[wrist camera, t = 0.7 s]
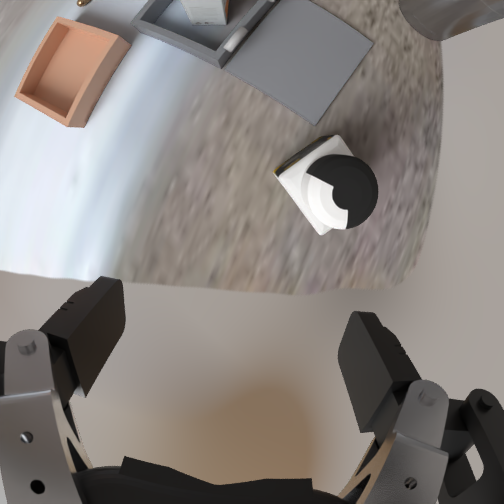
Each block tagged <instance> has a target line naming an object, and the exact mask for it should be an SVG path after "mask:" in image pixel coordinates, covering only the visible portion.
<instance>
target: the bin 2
mask: <svg viewBox="0 0 504 504" xmlns="http://www.w3.org/2000/svg"><path fill="white" fill-rule="evenodd" d="M276 1H277V0H258V1H257V2H256V3H255V5H254V6H253V7H252V8H251V9H250V10H249V11H248V12H247V14H246V15H245V16H244V17H243V18H242V19H241V21H240V22H239V23H238V24H237V25H236V27H235V28H234V29H233V30H232V31H231V33H230V34H229V35H228V36H227V38H226V39H225V40H224V41H223V43H222V44H221V45H220V47H219V48H218V49H217V50H216V51H214V50H212V49H210V48H208V47H205V46H203V45H201V44H199V43H197V42H195V41H192V40H190V39H188V38H186V37H183V36H181V35H179V34H176V33H174V32H171V31H169V30H167V29H164V28H161V27H159V26H156V25H154V23H155V21H156V20H157V19H158V17H159V16H160V15H161V14H162V12H163V11H164V10H165V9H166V8H167V6H168V5H169V4H170V3H171V2H172V0H149V1H148V2H147V3H146V4H145V5H144V7H143V8H142V9H141V10H140V12H139V13H138V14H137V15H136V17H135V18H134V19H133V21H132V22H131V24H132V25H133V26H134V27H135V28H136V29H137V30H139V31H140V32H141V33H143V34H146V35H148V36H151V37H153V38H156V39H158V40H161V41H163V42H165V43H168V44H170V45H172V46H175V47H177V48H179V49H181V50H184V51H186V52H188V53H190V54H192V55H194V56H196V57H198V58H200V59H202V60H204V61H206V62H208V63H210V64H212V65H214V66H216V67H218V68H220V69H222V67H223V66H224V64H225V63H226V62H227V60H228V59H229V58H230V56H231V55H232V54H233V52H234V51H235V50H236V49H237V47H238V46H239V45H240V43H241V42H242V41H243V40H244V38H245V37H246V36H247V35H248V34H249V32H250V31H251V30H252V29H253V27H254V26H255V25H256V24H257V23H258V22H259V20H260V19H261V18H262V17H263V16H264V15H265V13H266V12H267V11H268V10H269V9H270V8H271V7H272V6H273V4H274V3H275V2H276ZM373 44H374V43H373V42H371V41H370V40H369V39H367V38H366V37H365V36H363V35H362V34H360V33H359V32H358V31H356V30H355V29H353V28H352V27H351V26H349V25H348V24H346V23H345V22H343V21H342V20H340V19H339V18H337V17H335V16H334V15H332V14H331V13H329V12H328V11H326V10H324V9H323V8H321V7H319V6H318V5H316V4H314V3H312V2H311V1H309V0H281V1H280V2H279V3H278V4H277V5H276V6H275V7H274V9H273V10H272V11H271V12H270V13H269V14H268V15H267V17H266V18H265V19H264V20H263V21H262V22H261V24H260V25H259V26H258V27H257V28H256V30H255V31H254V32H253V33H252V34H251V36H250V37H249V38H248V39H247V41H246V42H245V43H244V44H243V46H242V47H241V48H240V50H239V51H238V52H237V53H236V55H235V56H234V57H233V59H232V60H231V61H230V63H229V64H228V65H227V67H226V68H225V69H224V70H225V71H226V72H228V73H230V74H231V75H233V76H235V77H237V78H239V79H240V80H242V81H244V82H246V83H247V84H249V85H251V86H253V87H254V88H256V89H258V90H259V91H261V92H263V93H264V94H266V95H268V96H269V97H271V98H273V99H274V100H276V101H277V102H279V103H281V104H282V105H284V106H285V107H287V108H288V109H290V110H291V111H293V112H294V113H296V114H297V115H299V116H300V117H302V118H303V119H305V120H306V121H308V122H309V123H311V124H312V125H313V126H315V125H316V124H317V122H318V121H319V119H320V118H321V117H322V115H323V114H324V112H325V111H326V109H327V108H328V107H329V105H330V104H331V102H332V101H333V100H334V98H335V97H336V95H337V94H338V92H339V91H340V90H341V88H342V87H343V85H344V84H345V83H346V81H347V80H348V78H349V77H350V76H351V74H352V73H353V71H354V70H355V69H356V67H357V66H358V64H359V63H360V62H361V60H362V59H363V57H364V56H365V55H366V53H367V52H368V50H369V49H370V48H371V46H372V45H373Z"/></svg>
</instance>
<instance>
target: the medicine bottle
mask: <svg viewBox="0 0 504 504" xmlns="http://www.w3.org/2000/svg"><path fill="white" fill-rule="evenodd" d="M273 173H274V175H275V176H276V177H277V179H278V180H279V181H280V183H281V184H282V185H283V187H284V188H285V189H286V191H287V192H288V193H289V195H290V196H291V197H292V199H293V200H294V201H295V203H296V204H297V206H298V207H299V208H300V210H301V211H302V212H303V214H304V215H305V217H306V218H307V219H308V221H309V222H310V223H311V224H312V226H313V227H314V228H315V230H316V231H317V232H318V234H320V235H323V234H325V233H326V232H328V231H329V230H330V229H332V228H335V229H349V228H353V227H356V226H358V225H360V224H361V223H363V222H364V221H365V220H366V219H367V218H368V217H369V216H370V215H371V213H372V212H373V210H374V208H375V206H376V203H377V199H378V184H377V180H376V177H375V175H374V173H373V171H372V170H371V168H370V167H369V166H368V165H367V164H366V163H365V162H363V161H362V160H360V159H358V158H356V157H354V156H353V154H352V153H351V151H350V150H349V148H348V147H347V145H346V144H345V142H344V141H343V139H342V138H341V137H340V136H339V135H331V136H324V137H319V138H318V139H317V140H315V141H314V142H312V143H311V144H309V145H308V146H307V147H305V148H304V149H302V150H301V151H300V152H298V153H297V154H295V155H294V156H293V157H291V158H290V159H288V160H287V161H286V162H284V163H283V164H282V165H280V166H279V167H277V168H276V169H275V170H274V172H273Z"/></svg>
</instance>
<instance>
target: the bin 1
mask: <svg viewBox="0 0 504 504" xmlns="http://www.w3.org/2000/svg"><path fill="white" fill-rule="evenodd" d="M131 46H132V45H131V44H129V43H128V42H127V41H125V40H124V39H123V38H121V37H120V36H119V35H116V34H113V33H110V32H107V31H105V30H102V29H99V28H96V27H92V26H89V25H86V24H83V23H79V22H76V21H73V20H69V19H65V18H62V17H58V16H57V18H56V19H55V21H54V22H53V24H52V25H51V27H50V29H49V30H48V32H47V34H46V35H45V37H44V39H43V40H42V42H41V44H40V45H39V47H38V49H37V51H36V53H35V54H34V56H33V58H32V60H31V62H30V64H29V66H28V68H27V70H26V72H25V74H24V76H23V78H22V80H21V82H20V85H19V87H18V89H17V91H16V94H15V96H14V97H16V98H18V99H20V100H21V101H23V102H25V103H27V104H28V105H30V106H32V107H34V108H35V109H37V110H39V111H40V112H42V113H44V114H46V115H47V116H49V117H51V118H53V119H54V120H56V121H58V122H59V123H61V124H63V125H65V126H66V127H81V128H84V127H85V125H86V123H87V121H88V119H89V117H90V115H91V113H92V111H93V109H94V107H95V105H96V103H97V101H98V99H99V98H100V96H101V94H102V92H103V90H104V89H105V87H106V85H107V83H108V82H109V80H110V78H111V77H112V75H113V73H114V72H115V70H116V68H117V67H118V65H119V64H120V62H121V61H122V59H123V57H124V56H125V54H126V53H127V51H128V50H129V48H130V47H131Z"/></svg>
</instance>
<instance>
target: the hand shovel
mask: <svg viewBox="0 0 504 504" xmlns="http://www.w3.org/2000/svg"><path fill="white" fill-rule="evenodd" d="M89 1H90V0H78V1H77V5H78V6H79V7H82V6H85V5H86V4H87V3H88V2H89Z"/></svg>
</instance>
